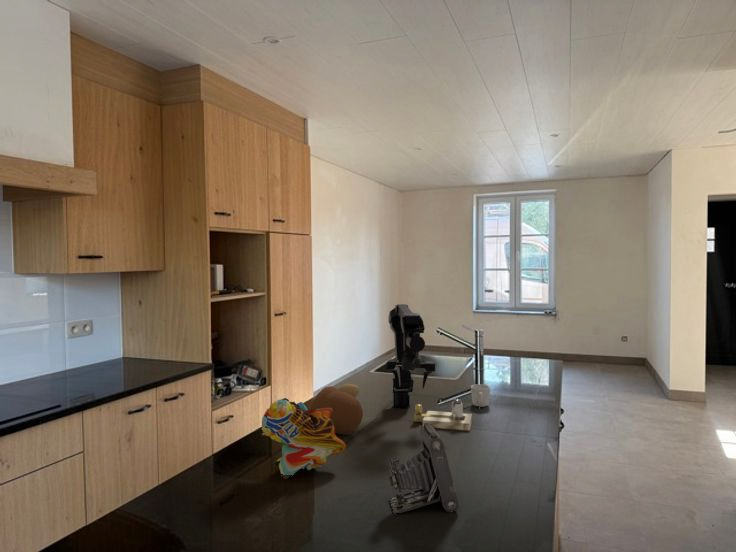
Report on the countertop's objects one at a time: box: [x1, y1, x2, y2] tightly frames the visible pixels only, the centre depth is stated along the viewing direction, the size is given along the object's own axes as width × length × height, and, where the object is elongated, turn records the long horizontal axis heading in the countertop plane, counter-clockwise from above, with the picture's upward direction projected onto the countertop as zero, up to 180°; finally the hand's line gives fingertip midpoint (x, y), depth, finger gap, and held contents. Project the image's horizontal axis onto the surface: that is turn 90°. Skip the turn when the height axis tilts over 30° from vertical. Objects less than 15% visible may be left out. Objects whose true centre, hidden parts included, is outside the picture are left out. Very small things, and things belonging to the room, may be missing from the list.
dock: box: [422, 410, 473, 431], centre depth 191 cm, size 17×12×2 cm
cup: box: [470, 383, 491, 408], centre depth 213 cm, size 11×8×8 cm
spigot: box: [451, 398, 464, 420], centre depth 190 cm, size 4×4×9 cm
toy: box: [307, 383, 364, 435], centre depth 182 cm, size 24×16×20 cm
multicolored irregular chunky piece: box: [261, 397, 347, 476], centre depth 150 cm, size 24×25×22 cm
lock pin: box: [413, 403, 431, 423], centre depth 193 cm, size 6×3×6 cm, turn 74°
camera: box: [388, 423, 460, 514], centre depth 127 cm, size 11×17×20 cm, turn 95°
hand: (411, 387), depth 194 cm, fingers open, 9 cm apart
